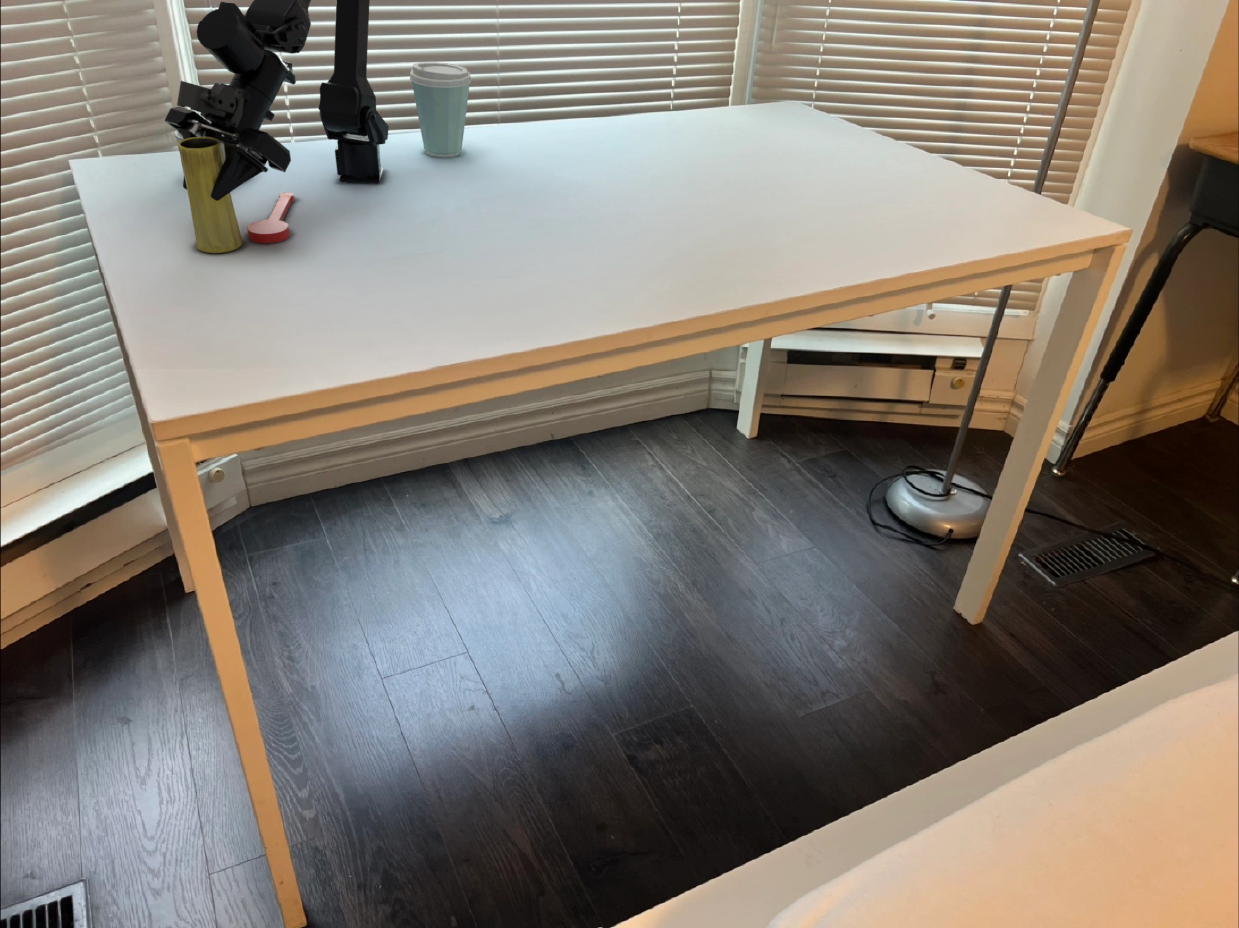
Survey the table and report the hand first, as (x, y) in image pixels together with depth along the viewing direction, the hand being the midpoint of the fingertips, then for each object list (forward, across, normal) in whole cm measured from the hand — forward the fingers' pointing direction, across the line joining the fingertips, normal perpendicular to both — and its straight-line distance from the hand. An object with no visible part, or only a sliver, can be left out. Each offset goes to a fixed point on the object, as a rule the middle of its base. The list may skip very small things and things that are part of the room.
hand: (199, 194), depth 128 cm
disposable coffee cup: (-32, -4, +44) cm, 54 cm away
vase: (+5, 0, +7) cm, 8 cm away
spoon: (-4, -1, +15) cm, 15 cm away
